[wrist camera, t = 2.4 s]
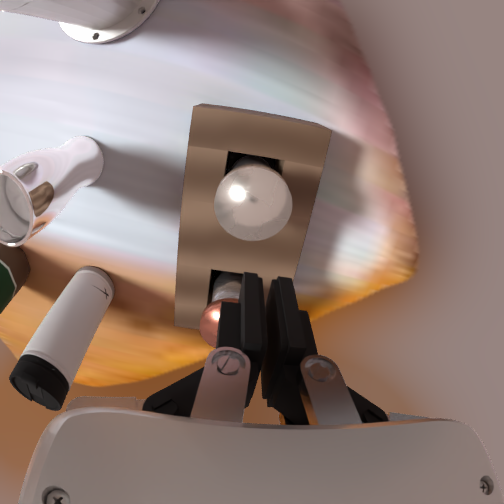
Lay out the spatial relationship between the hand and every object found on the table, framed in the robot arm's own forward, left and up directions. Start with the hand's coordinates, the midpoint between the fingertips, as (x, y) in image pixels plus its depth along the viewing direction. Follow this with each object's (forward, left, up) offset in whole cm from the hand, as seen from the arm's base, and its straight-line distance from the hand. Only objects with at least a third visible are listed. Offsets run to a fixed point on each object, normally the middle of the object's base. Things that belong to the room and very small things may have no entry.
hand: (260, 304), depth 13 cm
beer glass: (+1, -20, -23) cm, 30 cm away
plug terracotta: (+12, 0, -19) cm, 23 cm away
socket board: (+6, 0, -23) cm, 24 cm away
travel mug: (+18, -19, -23) cm, 35 cm away
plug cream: (0, 0, -19) cm, 19 cm away
